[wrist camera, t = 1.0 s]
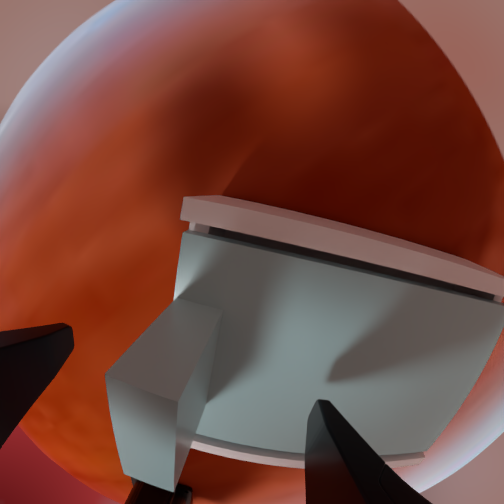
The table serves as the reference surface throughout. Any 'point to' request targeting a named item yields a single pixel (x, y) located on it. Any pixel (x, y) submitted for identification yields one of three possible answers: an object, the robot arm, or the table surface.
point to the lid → (292, 357)
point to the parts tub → (338, 251)
